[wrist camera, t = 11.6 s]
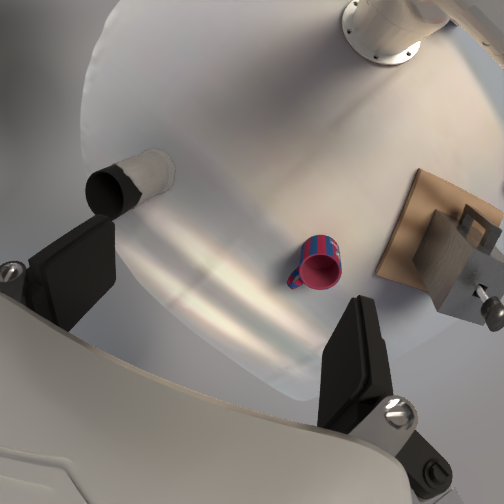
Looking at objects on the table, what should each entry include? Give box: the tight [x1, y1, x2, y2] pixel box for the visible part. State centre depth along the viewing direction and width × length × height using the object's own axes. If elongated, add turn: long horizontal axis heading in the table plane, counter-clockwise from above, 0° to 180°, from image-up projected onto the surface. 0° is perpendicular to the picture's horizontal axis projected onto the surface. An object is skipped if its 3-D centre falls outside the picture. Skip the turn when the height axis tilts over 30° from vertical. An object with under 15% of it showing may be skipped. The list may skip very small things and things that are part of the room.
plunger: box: [475, 284, 504, 332], centre depth 34 cm, size 8×8×21 cm
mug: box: [287, 235, 342, 290], centre depth 49 cm, size 7×10×7 cm
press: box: [412, 204, 504, 325], centre depth 36 cm, size 13×10×15 cm
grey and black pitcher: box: [85, 148, 175, 220], centre depth 45 cm, size 9×14×15 cm, turn 133°
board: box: [376, 169, 504, 292], centre depth 44 cm, size 20×20×2 cm
